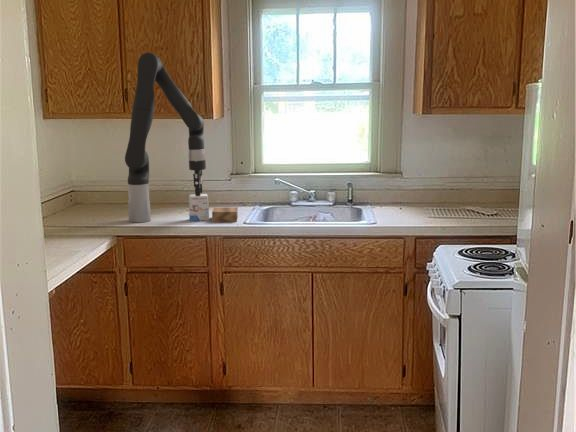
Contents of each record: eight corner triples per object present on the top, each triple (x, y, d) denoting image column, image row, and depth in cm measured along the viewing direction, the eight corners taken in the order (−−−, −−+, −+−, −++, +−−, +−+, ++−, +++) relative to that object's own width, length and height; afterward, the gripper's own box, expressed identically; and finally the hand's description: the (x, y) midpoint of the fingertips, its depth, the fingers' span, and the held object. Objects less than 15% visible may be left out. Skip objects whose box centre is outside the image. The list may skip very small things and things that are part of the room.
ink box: (190, 221, 265) (189, 196, 262) (189, 219, 269) (188, 194, 267) (209, 220, 267) (208, 195, 264) (207, 218, 272) (207, 193, 269)
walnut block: (212, 222, 263) (212, 212, 262) (214, 218, 274) (214, 207, 273) (236, 222, 264) (236, 211, 263) (237, 217, 274) (237, 207, 273)
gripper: (190, 157, 269) (192, 192, 273) (186, 161, 255) (188, 197, 259) (206, 157, 270) (208, 191, 273) (203, 160, 256) (205, 196, 259)
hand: (198, 194), depth 266 cm, fingers open, 8 cm apart
